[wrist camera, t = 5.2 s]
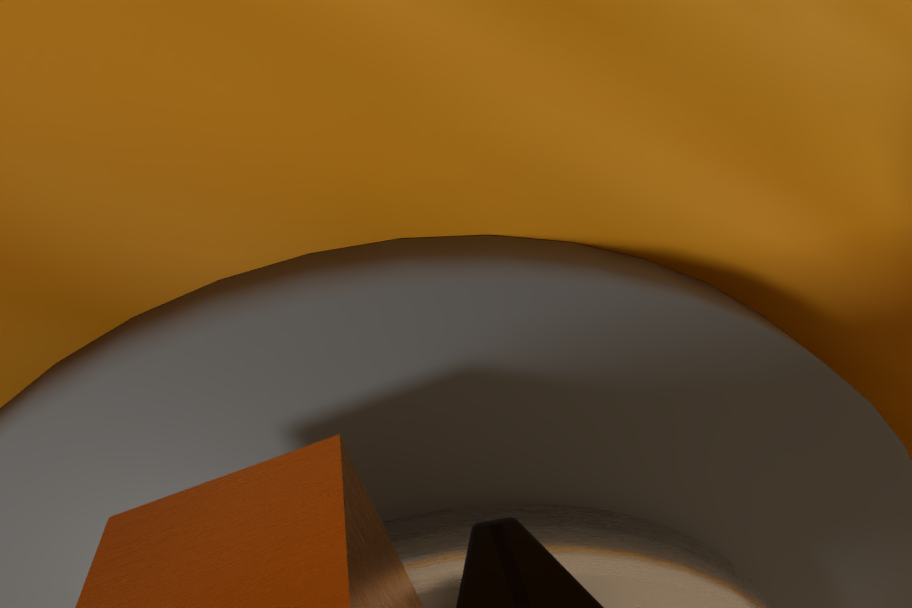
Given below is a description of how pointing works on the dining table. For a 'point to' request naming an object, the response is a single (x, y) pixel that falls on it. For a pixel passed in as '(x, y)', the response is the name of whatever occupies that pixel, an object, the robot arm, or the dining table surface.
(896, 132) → the dining table surface
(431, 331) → the base plate
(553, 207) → the dining table surface
